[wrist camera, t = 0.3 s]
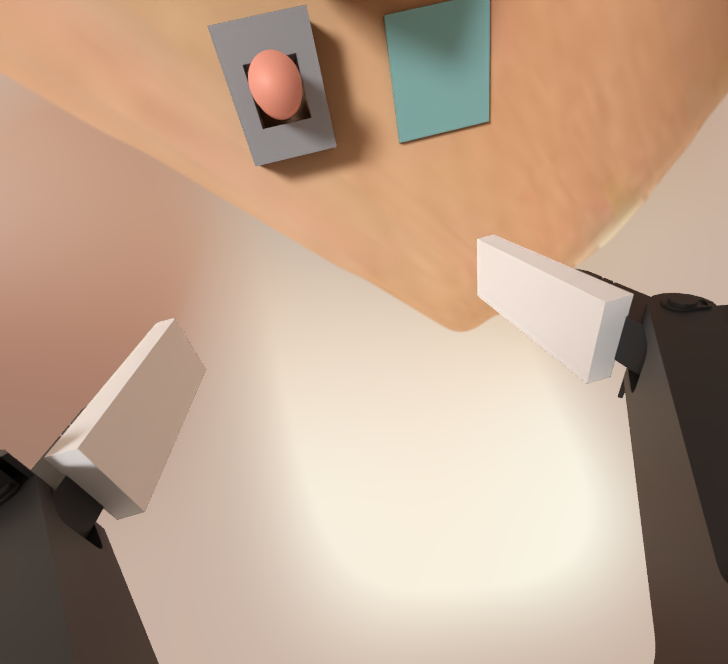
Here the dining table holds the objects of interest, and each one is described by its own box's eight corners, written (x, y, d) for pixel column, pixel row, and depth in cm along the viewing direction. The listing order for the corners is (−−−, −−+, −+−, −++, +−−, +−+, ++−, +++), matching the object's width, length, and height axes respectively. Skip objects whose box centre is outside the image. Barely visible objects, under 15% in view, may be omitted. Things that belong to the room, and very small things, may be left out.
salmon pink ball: (247, 68, 26) (239, 55, 23) (293, 58, 26) (292, 44, 23) (264, 124, 28) (259, 120, 25) (307, 114, 28) (308, 109, 25)
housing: (216, 38, 27) (207, 25, 25) (305, 18, 27) (306, 4, 25) (259, 165, 32) (255, 166, 30) (333, 147, 33) (336, 146, 30)
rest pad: (383, 16, 28) (384, 15, 28) (487, -7, 29) (489, -8, 28) (399, 142, 34) (400, 142, 33) (487, 121, 34) (488, 121, 34)
